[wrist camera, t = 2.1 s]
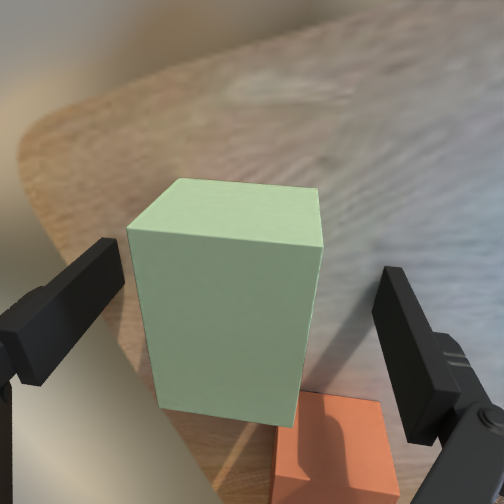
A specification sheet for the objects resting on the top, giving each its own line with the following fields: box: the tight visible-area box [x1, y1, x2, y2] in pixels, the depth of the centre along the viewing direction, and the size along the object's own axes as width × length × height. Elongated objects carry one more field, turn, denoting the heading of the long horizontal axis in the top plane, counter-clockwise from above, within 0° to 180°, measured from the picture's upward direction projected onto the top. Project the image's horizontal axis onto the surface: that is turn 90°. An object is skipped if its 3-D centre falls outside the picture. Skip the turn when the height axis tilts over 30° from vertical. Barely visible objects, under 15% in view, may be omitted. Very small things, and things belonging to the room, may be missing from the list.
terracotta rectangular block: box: [268, 391, 400, 504], centre depth 20 cm, size 9×6×5 cm, turn 178°
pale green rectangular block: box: [126, 178, 324, 428], centre depth 14 cm, size 9×6×5 cm, turn 178°
